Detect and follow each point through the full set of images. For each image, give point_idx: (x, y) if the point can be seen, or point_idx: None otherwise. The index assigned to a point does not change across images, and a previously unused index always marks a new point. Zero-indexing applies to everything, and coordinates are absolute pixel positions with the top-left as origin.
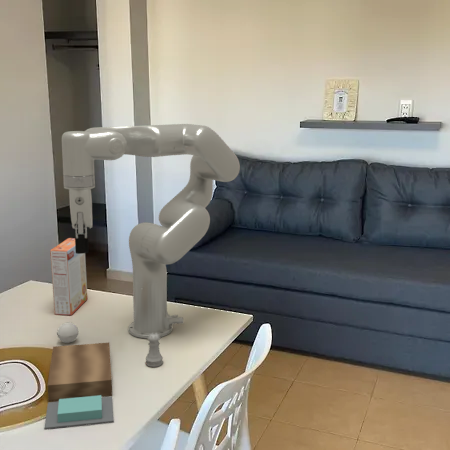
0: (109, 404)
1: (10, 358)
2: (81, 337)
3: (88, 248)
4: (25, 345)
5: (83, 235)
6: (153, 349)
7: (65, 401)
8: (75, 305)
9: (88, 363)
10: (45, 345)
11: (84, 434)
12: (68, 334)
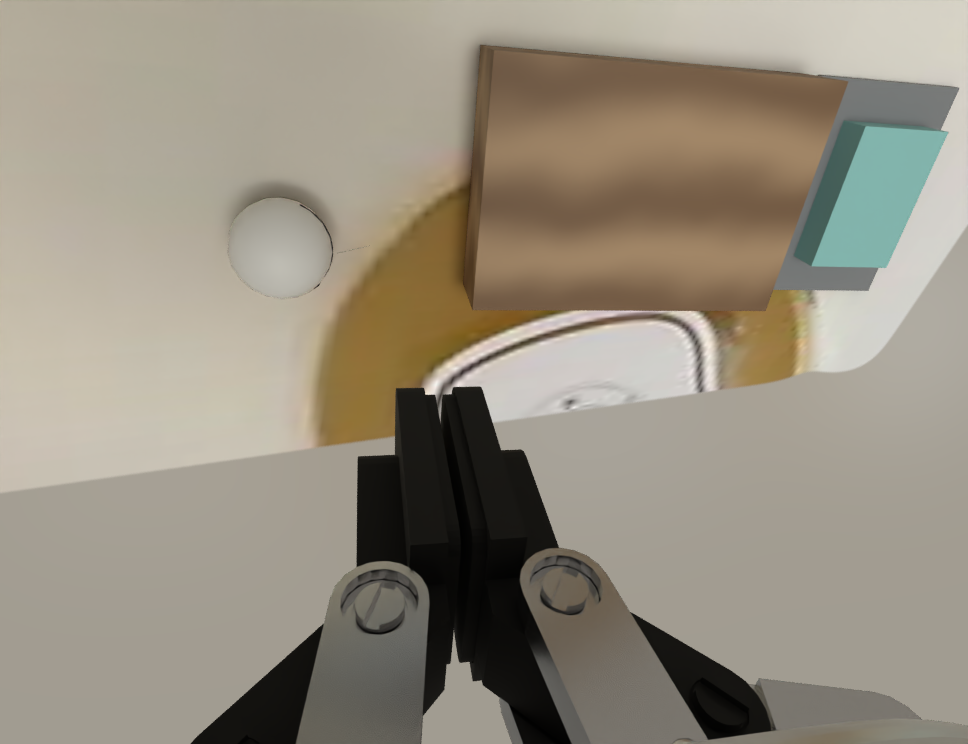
0: (865, 92)
1: None
2: (237, 172)
3: (427, 409)
4: (303, 388)
5: (675, 652)
6: None
7: (834, 246)
8: None
9: (674, 169)
10: (312, 321)
11: (950, 183)
12: (329, 249)
